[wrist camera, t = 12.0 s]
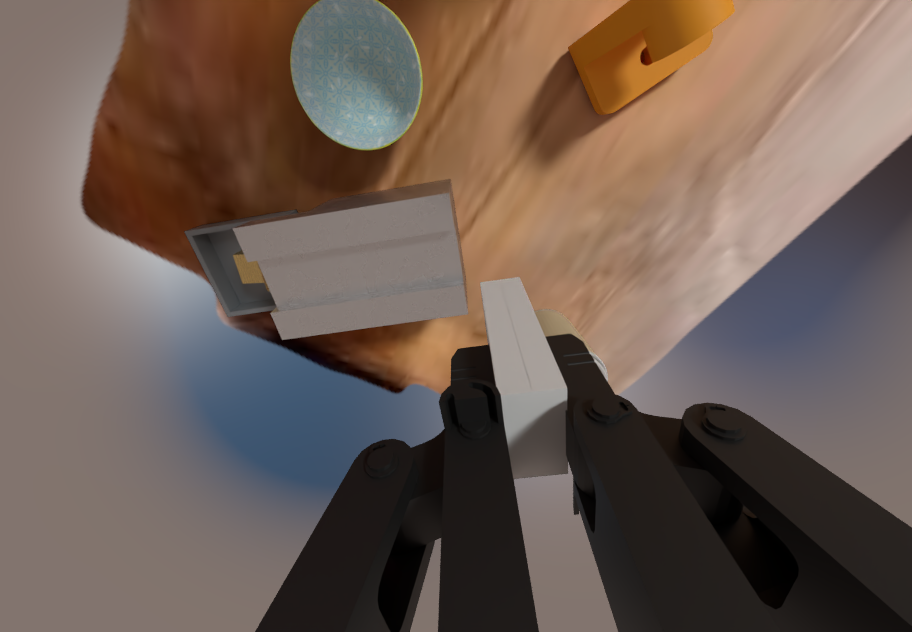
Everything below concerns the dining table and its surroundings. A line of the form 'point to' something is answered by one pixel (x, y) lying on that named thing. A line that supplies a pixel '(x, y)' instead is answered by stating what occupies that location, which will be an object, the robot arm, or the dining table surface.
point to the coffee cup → (564, 331)
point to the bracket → (643, 47)
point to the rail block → (362, 261)
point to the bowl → (356, 72)
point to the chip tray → (230, 266)
